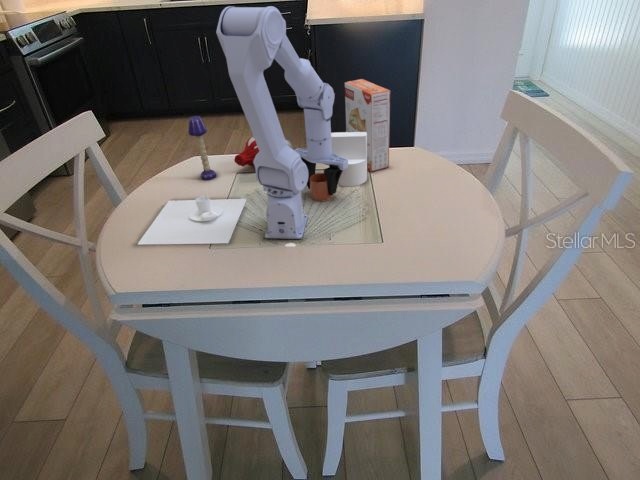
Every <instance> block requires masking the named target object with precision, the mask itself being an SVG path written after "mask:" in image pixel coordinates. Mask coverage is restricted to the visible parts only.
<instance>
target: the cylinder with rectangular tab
mask: <svg viewBox="0 0 640 480" xmlns="http://www.w3.org/2000/svg"><path fill="white" fill-rule="evenodd" d="M331 143H332V150H333V153H334V154H336V155H338V156H340V157H342V158H344V159H347V160H348V168H347V169H345V170H343V172H342V174H341V176H340V178H339V181H338V185H337V186H342V187H356V186H360V185H363V184H364V183H366V182H367V180H368V169H367V132H346V131H341V132H340V131H338V132H337V131H336V132H335V131H334V132H331Z"/></svg>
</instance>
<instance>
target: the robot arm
mask: <svg viewBox="0 0 640 480" xmlns="http://www.w3.org/2000/svg"><path fill="white" fill-rule="evenodd" d="M217 22H218V23H217V26H216V30H215V31H216V32H215V33H216V36H217V39H218V41H219V44H220V46H221V49H222V51H223V54H224V56H225V59H226V64H227V65H226V66H227V70H228V76H229V78H230V81H231V84H232V85H233V88H234V89H233V90H234V92H235V93H236V96H237V99H238V101H239V103H240V106H241V109H242V111H243V113H244V116H245V119H246V121H247V123H248V126H249V129H250V131H251V133H252V136H253V137H254V139H255V141H256V144H257V146H258V149H259V152H258V153H257V155H256V156H255V159H254V161H253V163H254V166H255V167H254V166H253V167H254V169H255V178H256V179H255V180H256V181H257V183H258V184H259V185H261V186H262V188H263V191H264V192H265V193H266V196H267V204H268V205H267V208H266V211H265V217H266V224H267V229H266V232H265V234H264V238H265V239H285V240H287V239H289V240H291V239H293V240H301V239H303V236H304V233H305V229H306V225H307V222H308V219H309V215H308V214H304V210H303V209H304V208H303V198H302V191H303V190H304V189H305V187H306V186H307V189H308V190H310V180H309V179H310V176H312V175H314V174H316V169H317V164H319V165H320V164H322V165H326V166H328V167H327V168H325V169H323V173H324V174H325V176H326V180H327V185H328V193H329V195H333V194H334V195H335V194H336V193H337V190H338V186H339V185H338V181H339V178H340V176H341V174H342V172H343V170H345V169H347V168H348V160H347V159H344V158H342V157H340V156H338V155H336V154H334V153H333V150H332V143H331V133H332V127H331V123H332V122H331V118H332V117H333V106H334V104H335V95H336V93H335V92H334V88H333V87H332V86H331V85H330V83H327V82H324V81H323V80H322V79H321V78H320V76H319V75H318V73H317V72H316V71H315V69H314V67H313V66H312V64H311V62H310V60H309V59H306V58H301V57H299V55H298V54H297V52H296V50H295V48H294V46H293V45H292V43H291V42H290V39H289V37H288V36H287V22H286V20H285V18H284V17H283V15H282V14H281V11H280V10H279V9H278V8H277V7H275V6H272V5H270V6H265V7H264V6H263V7H260V6H259V7H258V6H256V7H254V6H253V7H251V6H249V7H247V6H241V7H240V6H234V5H233V6H231V5H229V6H226V7H224V8H223V9H222V11H221V12H220V15H219V18H218V21H217ZM274 60H275V62H277V63H278V65H279V66H281V68H282V69H283V70H284V75H283V76H284V80H285V81H286V82H287V84H288V85H289V86H290V87H291V89H292V90H293V91H294V94H295V96H296V102H297V105H298V107H300V108H301V109H303V118H304V130H305V142H306V148H300V147H297V148H296V149H293V148H292V149H291V148H290V147H289V146H288V145H287V143H286V140H287V139H286V137H285V135H284V132H283V129H282V126H281V123H280V120H279V117H278V114H277V110H276V107H275V105H274V102H273V99H272V96H271V93H270V91H269V88H268V85H267V81H266V80H265V76H264V71H265V70H267V69H268V68H270V67H271V66H272V64H273V62H274ZM334 195H333V196H334Z"/></svg>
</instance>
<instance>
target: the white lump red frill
mask: <svg viewBox="0 0 640 480" xmlns="http://www.w3.org/2000/svg"><path fill="white" fill-rule="evenodd" d="M285 140H286V143H287V145H288V146H289V147H290V148H291V149H293V147H294V146H293V145H292V143H291V141H290V140H288V139H285ZM258 152H259V149H258V146H257V144H256V141H255V139H254V136H253V137H252V136H250V137H249V138H248V139H247V141H246V142H245V147H244V149H243V150H242V152H240V153H238V154H236V155H235V156H234V163H235V164H236V165H237V166H240V167H245V166H250V167H254V168H255V166H254V163H253V161H254V159H255V156H256V155H257V153H258Z"/></svg>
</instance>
